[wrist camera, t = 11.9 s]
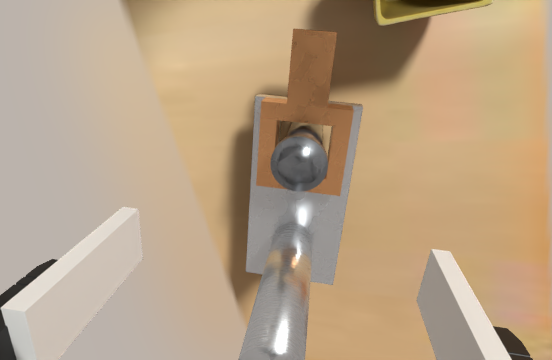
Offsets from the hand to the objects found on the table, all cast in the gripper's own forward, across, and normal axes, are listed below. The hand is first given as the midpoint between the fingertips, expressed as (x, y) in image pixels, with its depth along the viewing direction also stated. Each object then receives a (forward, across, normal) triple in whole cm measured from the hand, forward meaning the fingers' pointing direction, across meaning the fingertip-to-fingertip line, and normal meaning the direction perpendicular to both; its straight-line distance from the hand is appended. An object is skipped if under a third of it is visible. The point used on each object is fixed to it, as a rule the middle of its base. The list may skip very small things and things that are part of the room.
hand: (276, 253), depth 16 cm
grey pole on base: (+27, 0, -4) cm, 27 cm away
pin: (+27, 0, 0) cm, 27 cm away
